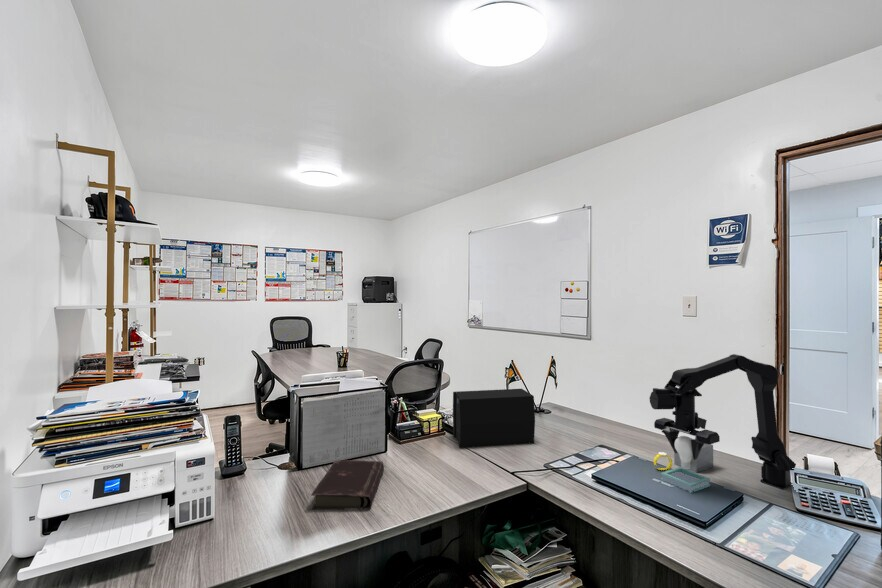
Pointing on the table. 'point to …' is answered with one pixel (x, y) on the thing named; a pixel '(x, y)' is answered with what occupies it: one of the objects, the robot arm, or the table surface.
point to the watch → (662, 454)
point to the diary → (348, 485)
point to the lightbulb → (684, 451)
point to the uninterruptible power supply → (493, 417)
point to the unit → (699, 459)
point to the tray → (679, 469)
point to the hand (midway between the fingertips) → (685, 456)
